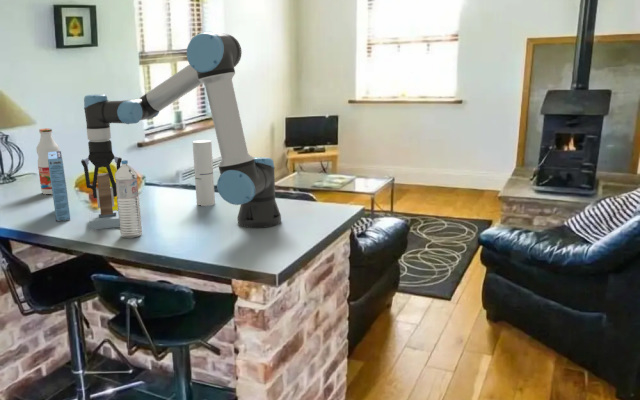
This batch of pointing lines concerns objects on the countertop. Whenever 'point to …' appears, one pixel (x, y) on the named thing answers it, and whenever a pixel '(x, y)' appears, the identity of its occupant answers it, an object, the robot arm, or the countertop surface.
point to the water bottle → (128, 201)
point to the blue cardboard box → (58, 185)
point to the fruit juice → (45, 158)
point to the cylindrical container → (203, 172)
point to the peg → (104, 194)
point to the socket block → (103, 220)
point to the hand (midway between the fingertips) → (106, 206)
